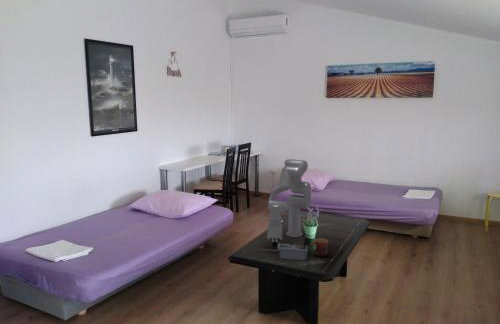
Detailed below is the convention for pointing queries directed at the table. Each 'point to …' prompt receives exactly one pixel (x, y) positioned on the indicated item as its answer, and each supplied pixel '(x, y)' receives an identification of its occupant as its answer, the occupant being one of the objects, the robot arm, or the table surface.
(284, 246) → the lock bar
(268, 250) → the track
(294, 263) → the table surface
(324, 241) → the mug
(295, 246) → the lock block
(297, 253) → the grey open bin
